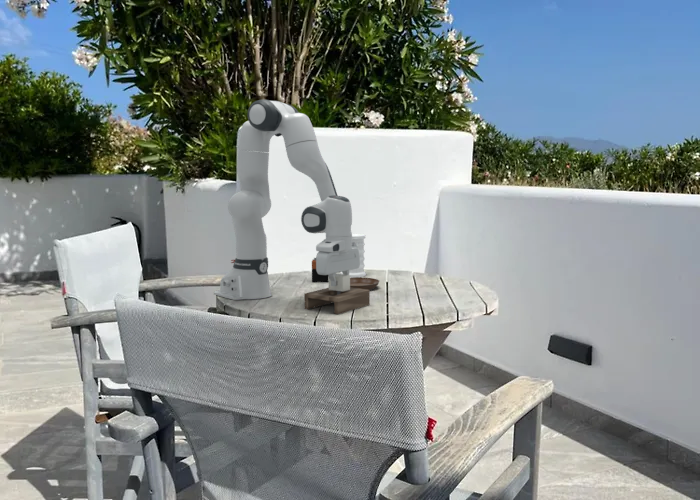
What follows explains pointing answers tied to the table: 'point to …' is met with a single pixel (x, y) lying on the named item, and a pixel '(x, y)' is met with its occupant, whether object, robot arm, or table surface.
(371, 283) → the plant saucer
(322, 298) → the brown open frame
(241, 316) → the table surface
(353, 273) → the decorative container
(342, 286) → the gray rectangular block
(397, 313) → the table surface
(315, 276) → the battery
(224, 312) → the table surface
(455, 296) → the table surface
